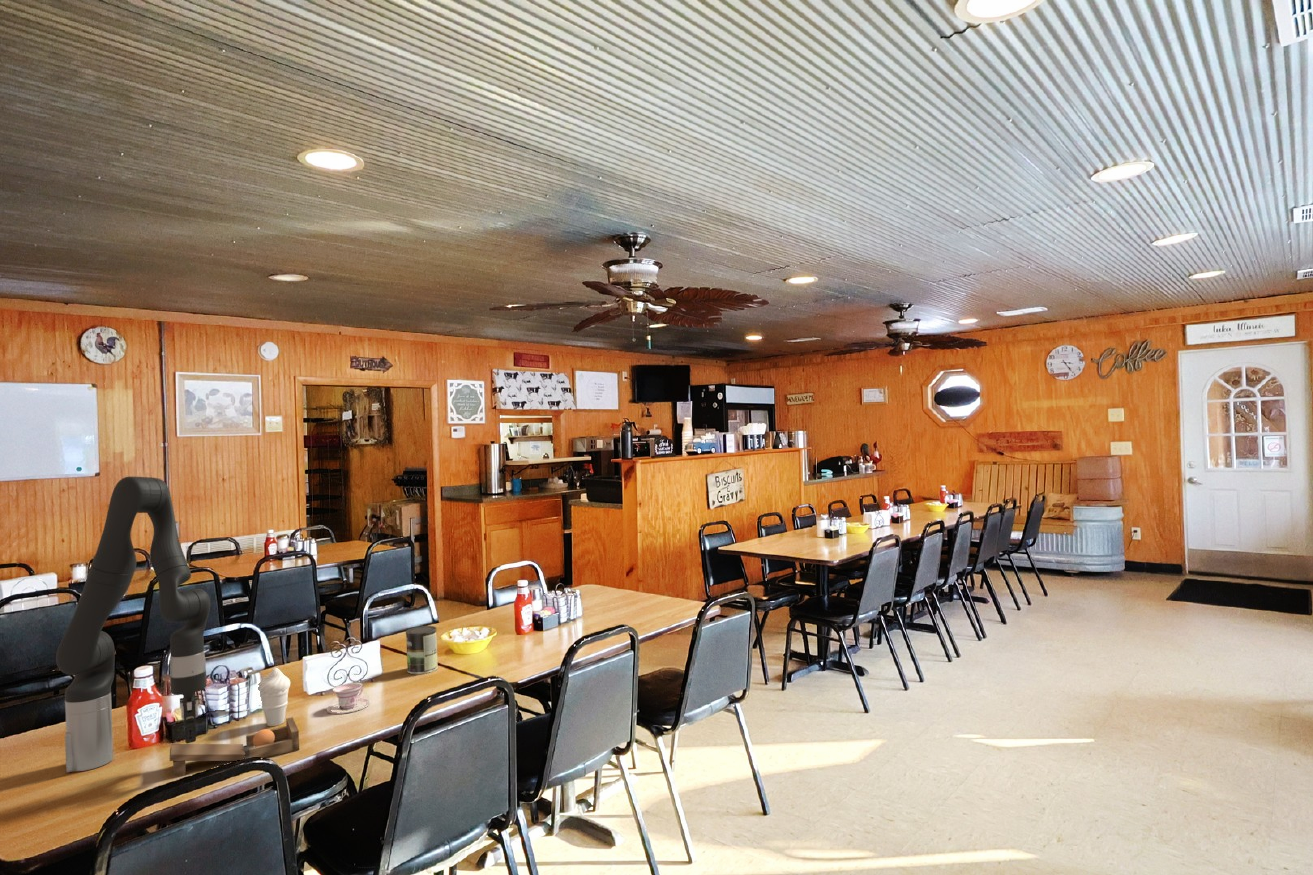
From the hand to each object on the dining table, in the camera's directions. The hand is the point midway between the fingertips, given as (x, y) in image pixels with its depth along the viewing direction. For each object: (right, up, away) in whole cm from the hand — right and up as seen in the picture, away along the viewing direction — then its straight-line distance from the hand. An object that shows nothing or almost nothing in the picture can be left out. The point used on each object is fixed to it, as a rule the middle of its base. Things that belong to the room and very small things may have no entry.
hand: (190, 736), depth 181 cm
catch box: (+15, -7, +10) cm, 19 cm away
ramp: (+3, -7, +2) cm, 8 cm away
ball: (+14, -4, +9) cm, 17 cm away
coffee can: (+34, -7, +73) cm, 81 cm away
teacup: (+23, -7, +39) cm, 46 cm away
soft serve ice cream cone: (+7, -8, +28) cm, 29 cm away
